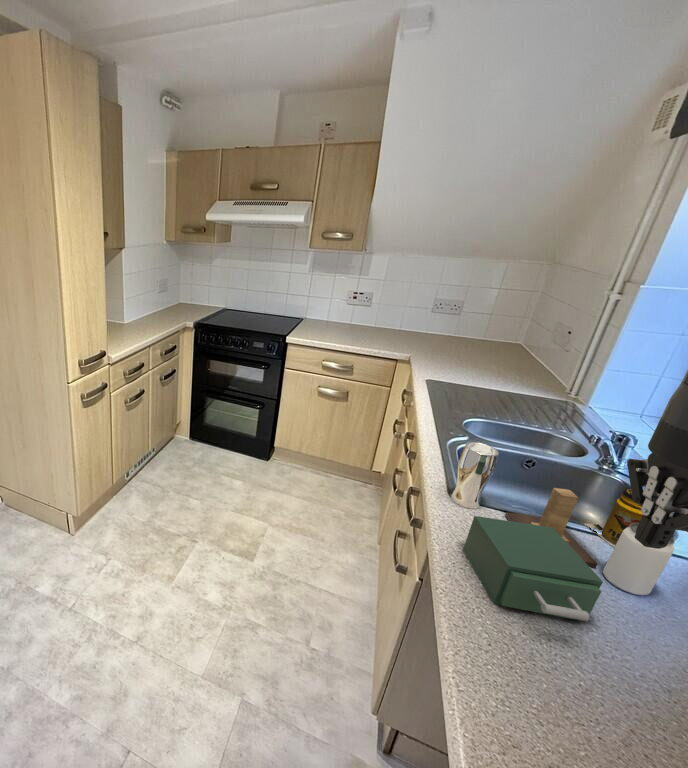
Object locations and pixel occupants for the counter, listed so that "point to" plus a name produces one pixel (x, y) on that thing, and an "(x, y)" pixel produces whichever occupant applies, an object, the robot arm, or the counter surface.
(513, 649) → the counter surface
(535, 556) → the cabinet
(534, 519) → the thin wooden plank
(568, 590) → the drawer
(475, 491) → the beer glass
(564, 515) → the wooden block
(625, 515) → the condiment
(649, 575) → the can
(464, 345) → the counter surface
